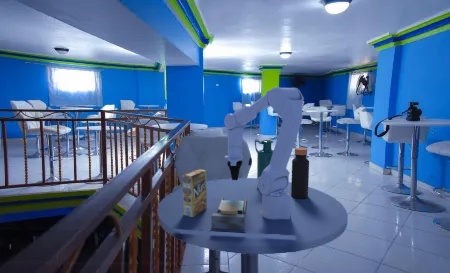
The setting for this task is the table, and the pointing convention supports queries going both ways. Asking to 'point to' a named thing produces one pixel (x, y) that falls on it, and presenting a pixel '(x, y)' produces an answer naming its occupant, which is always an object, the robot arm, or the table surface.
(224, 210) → the tan cube
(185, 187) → the candy box
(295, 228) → the table surface
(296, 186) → the bottle
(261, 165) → the pitcher
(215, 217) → the press bed
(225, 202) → the grey flat block
